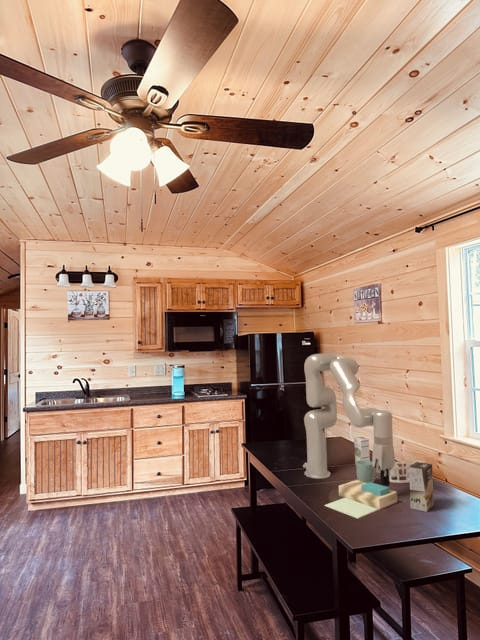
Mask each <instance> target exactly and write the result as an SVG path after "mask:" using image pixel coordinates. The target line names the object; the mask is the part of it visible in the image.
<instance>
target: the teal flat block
mask: <svg viewBox="0 0 480 640" xmlns="http://www.w3.org/2000/svg"><path fill="white" fill-rule="evenodd" d="M361 488H362V490H363V491H366V492H369V493H372V494H375V495H378V496H382V495H385V494H387V493H389V490H390V487H389V486H384V485H381V484H378V483H372V482H369V483H366V484H363V485H361Z"/></svg>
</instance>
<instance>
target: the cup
mask: <svg viewBox="0 0 480 640" xmlns="http://www.w3.org/2000/svg"><path fill="white" fill-rule="evenodd" d="M355 468H356V471H355V472H356V477H357V479H356V480H358V481H362V482H365V483H369V482H372V483H374V482H375V473H376V468H373V466H372V460H370V461H369V460H359V461H357V462H356V465H355Z"/></svg>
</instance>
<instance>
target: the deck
mask: <svg viewBox="0 0 480 640" xmlns="http://www.w3.org/2000/svg"><path fill="white" fill-rule="evenodd" d="M363 484H366V483H365V482H362V481H358V479H355V480H351V481H349V482H346V483H343V484H340V485H338V496H339V497H342V498H347V499H350V500H353V501H356V502H359V503H362V504H365V505H368V506H370V507H373V508H376V509H378V511H379V510H382V509H384V508H387V507H389V506H392V505H394V504H396V503H398V492H397V491H395V490H391V489H389V493H387V494H385V495H382V496H378V495H375V494H372V493H369V492H366V491H363V490H362V488H361V485H363Z"/></svg>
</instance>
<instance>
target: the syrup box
mask: <svg viewBox="0 0 480 640" xmlns="http://www.w3.org/2000/svg"><path fill="white" fill-rule="evenodd" d="M353 444H354V466H356V462H357V461H359V460H369V461H371V458H370V457H371V455H370V453H371V452H370V438H368V437H365V436H356V437H353Z"/></svg>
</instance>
